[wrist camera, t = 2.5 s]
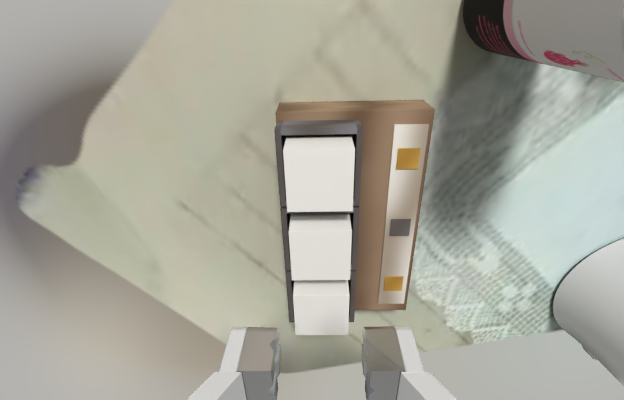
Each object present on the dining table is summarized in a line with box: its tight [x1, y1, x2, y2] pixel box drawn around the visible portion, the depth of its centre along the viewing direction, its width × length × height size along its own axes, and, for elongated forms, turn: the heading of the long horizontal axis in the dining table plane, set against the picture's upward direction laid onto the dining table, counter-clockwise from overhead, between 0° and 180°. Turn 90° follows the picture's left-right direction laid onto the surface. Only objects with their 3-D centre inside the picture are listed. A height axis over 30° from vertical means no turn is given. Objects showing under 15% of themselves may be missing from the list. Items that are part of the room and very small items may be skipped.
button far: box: [293, 280, 350, 335], centre depth 29 cm, size 4×4×2 cm
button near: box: [283, 136, 355, 212], centre depth 23 cm, size 4×4×2 cm
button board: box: [275, 100, 435, 322], centre depth 29 cm, size 11×19×5 cm, turn 1°
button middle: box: [289, 213, 352, 280], centre depth 26 cm, size 4×4×2 cm
